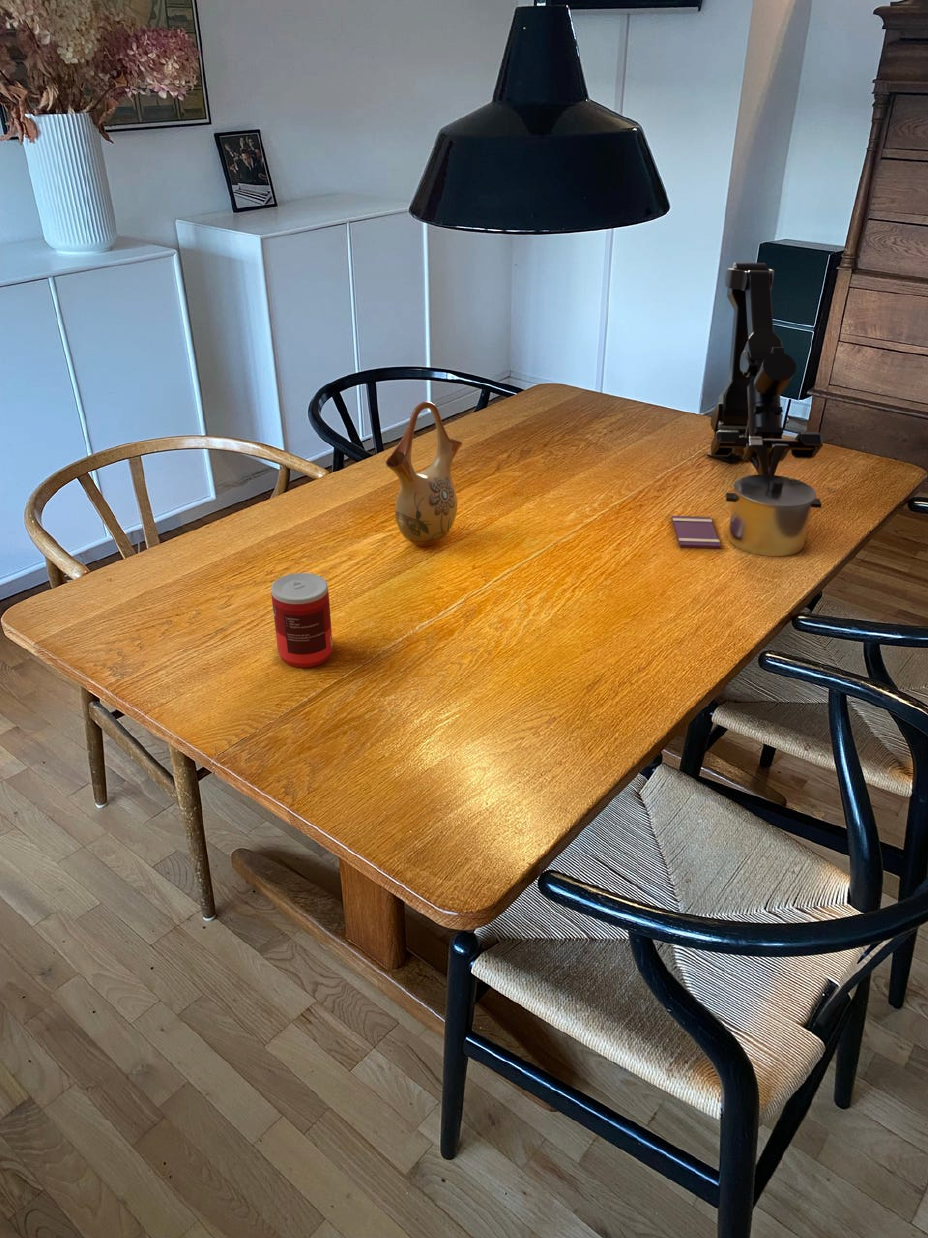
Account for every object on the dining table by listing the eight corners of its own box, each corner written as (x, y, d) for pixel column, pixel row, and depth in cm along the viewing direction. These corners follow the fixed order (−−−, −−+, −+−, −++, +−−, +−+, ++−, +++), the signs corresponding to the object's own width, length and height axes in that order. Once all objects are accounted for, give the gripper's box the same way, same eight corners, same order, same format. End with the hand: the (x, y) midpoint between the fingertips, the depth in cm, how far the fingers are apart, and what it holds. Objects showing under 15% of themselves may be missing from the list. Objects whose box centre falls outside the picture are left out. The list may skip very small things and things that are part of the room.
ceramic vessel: (410, 564, 155) (406, 419, 142) (375, 547, 161) (367, 406, 148) (477, 534, 165) (479, 396, 153) (442, 519, 171) (440, 385, 158)
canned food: (307, 633, 136) (300, 566, 131) (345, 652, 132) (340, 584, 126) (266, 655, 131) (258, 586, 126) (305, 675, 127) (297, 605, 121)
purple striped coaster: (671, 518, 172) (671, 515, 171) (709, 519, 171) (710, 516, 171) (679, 547, 161) (680, 543, 161) (720, 548, 161) (721, 545, 161)
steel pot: (717, 520, 171) (726, 463, 165) (805, 526, 169) (818, 468, 163) (722, 553, 159) (732, 493, 154) (817, 560, 157) (831, 499, 152)
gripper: (802, 430, 177) (806, 506, 173) (703, 427, 178) (705, 503, 174) (821, 401, 167) (826, 482, 163) (716, 399, 168) (718, 479, 164)
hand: (767, 487), depth 166 cm, fingers closed, pressing on steel pot
